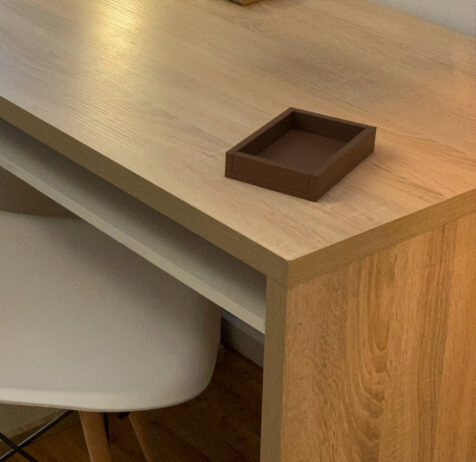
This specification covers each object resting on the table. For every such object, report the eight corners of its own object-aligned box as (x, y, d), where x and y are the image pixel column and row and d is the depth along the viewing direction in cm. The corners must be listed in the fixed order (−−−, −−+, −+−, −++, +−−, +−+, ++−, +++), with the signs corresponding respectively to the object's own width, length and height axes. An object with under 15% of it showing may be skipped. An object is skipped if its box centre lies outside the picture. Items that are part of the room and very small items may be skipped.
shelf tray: (374, 150, 108) (376, 126, 107) (315, 202, 98) (317, 176, 97) (288, 129, 113) (290, 106, 112) (224, 176, 103) (225, 151, 102)
